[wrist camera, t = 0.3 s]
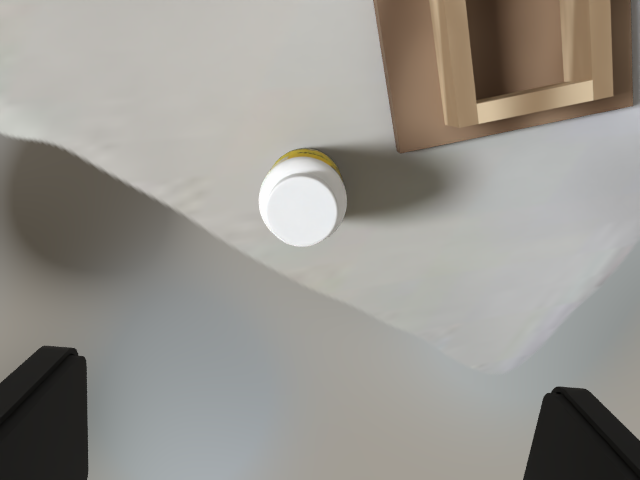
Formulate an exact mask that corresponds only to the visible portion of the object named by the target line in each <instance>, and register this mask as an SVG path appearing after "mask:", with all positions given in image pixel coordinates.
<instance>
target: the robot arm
mask: <svg viewBox="0 0 640 480" xmlns="http://www.w3.org/2000/svg"><path fill="white" fill-rule="evenodd" d="M86 371H87V367H86V359H85V357H83V356H78V353H77V350H76V349H75V348H67V347H54V346H42V347H41V348H39V349H38V350H37V351H36V352H35V353H34V354H33V355H32V356H31V357H29V358H28V359H27V360H26V361H25V362H24V363H23V364H22V365H20V366H19V367H18V368H17V369H16V370H15V371H14V372H13V373H11V374H10V375H9V376H8V377H7V378H6V379H4V380H3V381H2V382H1V383H0V480H87V477H88V426H87V372H86ZM523 480H640V441H639V440H638V439H637V438H636V437H635V436H634V435H633V434H632V433H631V432H630V431H629V430H628V429H627V428H626V427H625V426H624V425H623V424H622V423H621V422H620V421H619V420H618V419H617V418H616V417H615V416H614V415H613V414H612V413H611V412H610V411H609V410H608V409H607V408H606V407H605V406H604V405H603V404H602V403H601V402H599V400H598V399H597V398H596V397H595V396H594V395H593V394H592V393H591V392H589V391H588V390H586V389H581V388H568V387H556V388H554V389H553V390H552V392H551V393H547V394H546V395H545V396H544V398H543V401H542V405H541V410H540V414H539V418H538V422H537V426H536V430H535V434H534V438H533V442H532V446H531V450H530V454H529V458H528V462H527V466H526V470H525V474H524V478H523Z"/></svg>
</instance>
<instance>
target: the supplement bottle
mask: <svg viewBox="0 0 640 480" xmlns="http://www.w3.org/2000/svg"><path fill="white" fill-rule="evenodd" d="M346 208H347V193H346V189H345V185H344V183H343V180H342V177H341V174H340V171H339V169H338V167H337V166H336V164H335V163H334V162H333V161H332V159H331V158H329V157H328V156H327V155H326V154H324V153H322V152H320V151H318V150H315V149H309V148H301V149H296V150H292V151H290V152H288V153H286V154H285V155H283V156H282V157H280V158H279V159H278V160H277V162H276V163H275V164H274V166H273V167H272V168H271V170H270V171H269V173H268V174H267V176H266V177H265V179H264V181H263V183H262V186H261V189H260V193H259V209H260V213H261V216H262V219H263V221H264V222H265V224H266V226H267V227H268V228H269V230H270V231H271V232H272V233H273V234H275V235H276V236H277V237H278V238H279V239H280V240H282V241H283V242H285V243H287V244H290V245H293V246H299V247H305V246H311V245H315V244H317V243H319V242H321V241H322V240H324V239H326V238H327V237H329V236H330V235H331V234H333V233H334V232H335V231H336V229H337V228H338V227H339V225H340V224H341V222H342V220H343V218H344V216H345V213H346Z"/></svg>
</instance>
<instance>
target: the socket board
mask: <svg viewBox="0 0 640 480" xmlns="http://www.w3.org/2000/svg"><path fill="white" fill-rule="evenodd" d="M373 2H374V8H375V14H376V21H377V27H378V34H379V40H380V46H381V53H382V59H383V65H384V72H385V78H386V85H387V91H388V97H389V104H390V110H391V116H392V123H393V129H394V135H395V142H396V148H397V151H398V152H399V153H405V152H410V151H415V150H419V149H424V148H429V147H434V146H439V145H444V144H449V143H454V142H459V141H463V140H468V139H473V138H478V137H483V136H488V135H493V134H498V133H503V132H508V131H512V130H517V129H522V128H527V127H532V126H537V125H542V124H547V123H552V122H557V121H561V120H566V119H571V118H576V117H581V116H586V115H591V114H596V113H601V112H606V111H610V110H615V109H620V108H625V107H630V106H633V85H632V39H631V0H373Z"/></svg>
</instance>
